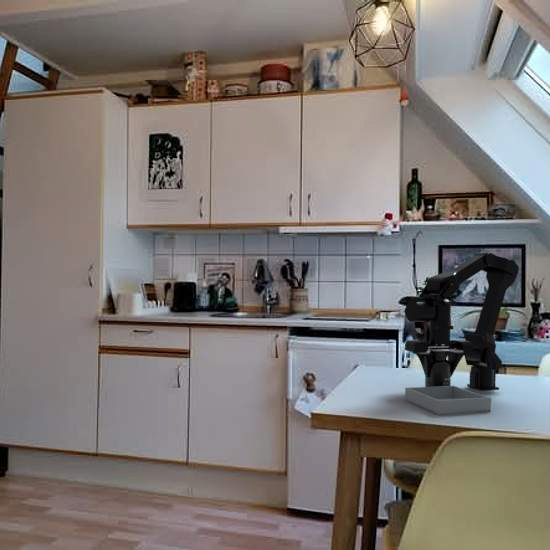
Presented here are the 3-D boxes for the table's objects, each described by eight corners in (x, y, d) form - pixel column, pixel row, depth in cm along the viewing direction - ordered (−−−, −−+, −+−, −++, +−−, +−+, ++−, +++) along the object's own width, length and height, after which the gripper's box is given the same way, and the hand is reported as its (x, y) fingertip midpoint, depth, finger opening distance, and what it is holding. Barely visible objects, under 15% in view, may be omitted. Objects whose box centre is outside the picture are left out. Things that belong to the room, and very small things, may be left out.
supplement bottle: (452, 396, 141) (452, 352, 141) (426, 395, 143) (426, 351, 143) (448, 391, 148) (449, 349, 148) (424, 390, 150) (424, 348, 150)
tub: (453, 398, 139) (454, 385, 139) (490, 412, 125) (490, 398, 125) (405, 401, 135) (405, 387, 135) (437, 415, 121) (437, 400, 121)
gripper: (451, 319, 156) (450, 371, 156) (395, 318, 151) (394, 372, 150) (475, 322, 145) (474, 378, 145) (416, 322, 140) (414, 380, 140)
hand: (438, 377), depth 145 cm, fingers closed on supplement bottle, 7 cm apart
